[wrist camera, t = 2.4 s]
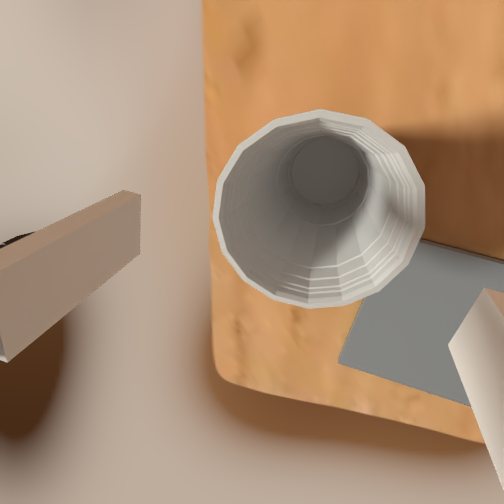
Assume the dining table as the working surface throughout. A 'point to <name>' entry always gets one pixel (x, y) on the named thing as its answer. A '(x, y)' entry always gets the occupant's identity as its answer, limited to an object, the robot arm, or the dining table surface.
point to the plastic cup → (319, 209)
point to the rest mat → (421, 319)
